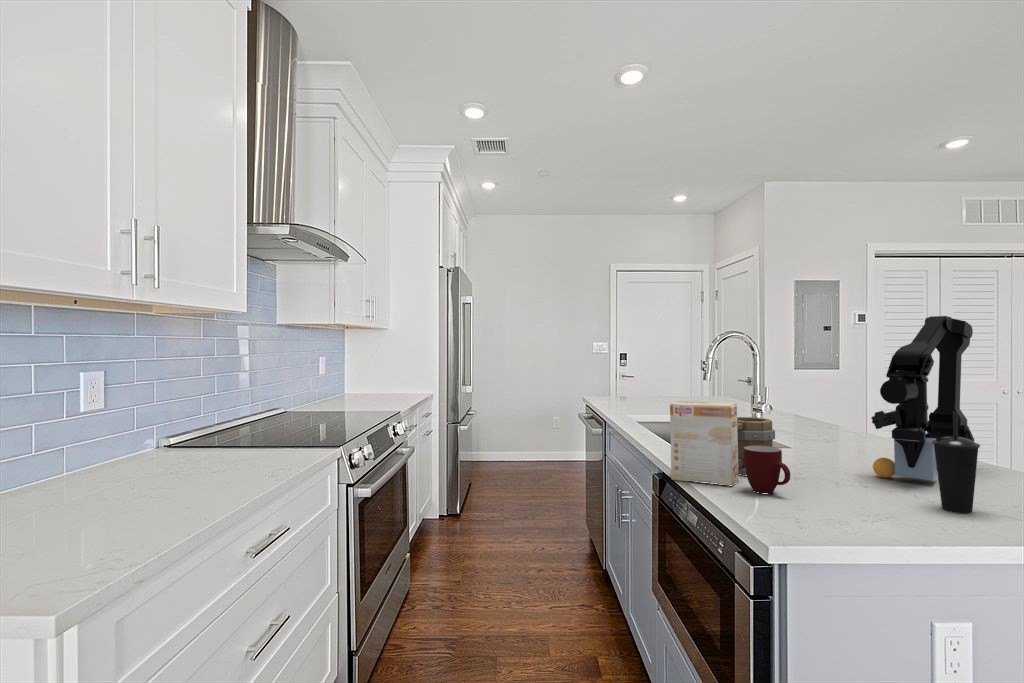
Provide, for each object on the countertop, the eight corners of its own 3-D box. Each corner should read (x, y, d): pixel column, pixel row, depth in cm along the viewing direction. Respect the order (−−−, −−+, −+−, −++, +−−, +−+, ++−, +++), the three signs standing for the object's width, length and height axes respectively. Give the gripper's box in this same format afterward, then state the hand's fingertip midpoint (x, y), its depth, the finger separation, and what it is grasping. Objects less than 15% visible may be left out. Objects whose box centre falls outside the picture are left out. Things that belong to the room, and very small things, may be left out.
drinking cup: (963, 505, 118) (962, 409, 118) (991, 516, 110) (989, 413, 110) (924, 504, 118) (923, 409, 118) (949, 515, 111) (947, 413, 111)
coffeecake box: (739, 481, 140) (737, 402, 140) (732, 487, 134) (731, 405, 134) (679, 474, 148) (677, 400, 148) (670, 480, 142) (669, 403, 142)
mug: (800, 494, 127) (799, 450, 127) (783, 501, 122) (782, 455, 122) (755, 486, 135) (754, 444, 135) (737, 491, 130) (736, 448, 130)
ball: (899, 476, 142) (876, 475, 145) (896, 456, 142) (873, 456, 146) (896, 480, 138) (872, 479, 142) (893, 459, 139) (869, 459, 142)
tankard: (743, 464, 159) (743, 411, 159) (786, 472, 149) (785, 415, 149) (697, 473, 148) (697, 416, 148) (740, 483, 138) (739, 421, 138)
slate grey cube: (900, 470, 143) (899, 435, 143) (936, 474, 138) (936, 438, 138) (894, 475, 137) (894, 439, 138) (932, 480, 132) (932, 442, 132)
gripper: (881, 396, 150) (882, 455, 150) (866, 402, 137) (867, 466, 136) (933, 398, 143) (934, 460, 143) (922, 405, 129) (924, 473, 129)
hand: (913, 464), depth 138 cm, fingers closed on slate grey cube, 7 cm apart
